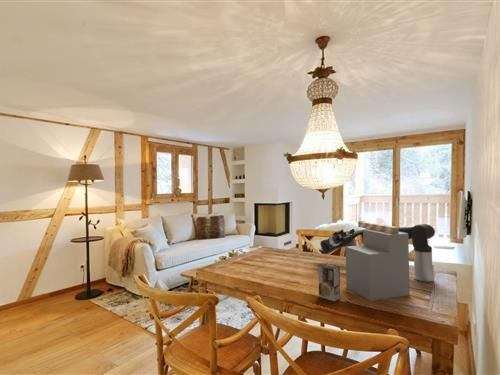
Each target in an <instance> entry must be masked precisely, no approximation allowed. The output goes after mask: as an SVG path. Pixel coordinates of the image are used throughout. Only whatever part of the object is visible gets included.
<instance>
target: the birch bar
mask: <svg viewBox="0 0 500 375" xmlns="http://www.w3.org/2000/svg"><path fill="white" fill-rule="evenodd" d="M357 224H358V226H357V227H358V228H362V229H371V230H377V231H382V232H387V233H392V234H397V233H398V226H393V225H386V224H379V223H375V222H367V221H364V220H361V221H360V220H359V221H358V223H357Z"/></svg>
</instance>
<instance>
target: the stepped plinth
mask: <svg viewBox="0 0 500 375" xmlns="http://www.w3.org/2000/svg"><path fill="white" fill-rule="evenodd" d="M363 229H364V230H363ZM363 229H362V230H363V240H362V243H363V244H361V245H351V246H350V245H347V246H345V285H346V286H345V288H346V289H347V290H350V291H352V292H354V293H355V294H357V295H359V296H361V297H362V298H364V299H366V300H368V301H370V302H373V301H374V302H375V301H380V300H385V299H387V300H388V299H392V298H397V297H398V298H400V297H406V296H410V295H411V294H410V293H411V291H410V251H409V250H410V248H409V247H410V244H409V240H410V239H408V233H403V232H398V233H397V234H392V233H387V232H382V231H377V230H371V229H366V228H363Z"/></svg>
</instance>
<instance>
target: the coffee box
mask: <svg viewBox="0 0 500 375" xmlns="http://www.w3.org/2000/svg"><path fill="white" fill-rule="evenodd" d="M317 270H318V297H319V298H322V299H326V300H328V301H332V302H336V301H338V300H340V299H341V278H340V277H341V276H340V274H341V272H340V266H338V265H332V264H327V263H323V264H320V265H318V268H317Z"/></svg>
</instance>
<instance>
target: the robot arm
mask: <svg viewBox="0 0 500 375" xmlns="http://www.w3.org/2000/svg"><path fill="white" fill-rule="evenodd" d="M397 227H398V226H397ZM364 229H365V228H362V229H361V230H358V231H356V230H355V229H354V228H352V229H350V230H346V231H345V230H344V229H341V230H339V231H334V232H333V233H332V234H331V236H330V237H329V238H328V239H323V240H321V241H320V242H319V244H320V248H321V251H322V254H325V255H328V254H330V253H332V252H334V251H335V250H337V249H341V248H344V247H348V246H350V244H351V243H352V242H353V241H354V239H355V238H357V237H358V236H360V237H361V240H362V241H363V230H364ZM398 232H403V233H408V240H412V242H411V243H412V246H413V258H414V259H413V261H414V262H413V263H414V279H415V280H416V281H420V282H426V283H427V282H434V281H435V276H434V275H435V274H434V273H435V271H434V270H435V268H434V264H433V247H432V246H431V245H429V244H428V243H429V242H428V240H430V239H431V238H433V237H434V236H435V233H436V230H435V228H434V227H433V226H432V225H431V224H427V223H422V224H421V223H420V224H415V225H414V226H400V227H398Z"/></svg>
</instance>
